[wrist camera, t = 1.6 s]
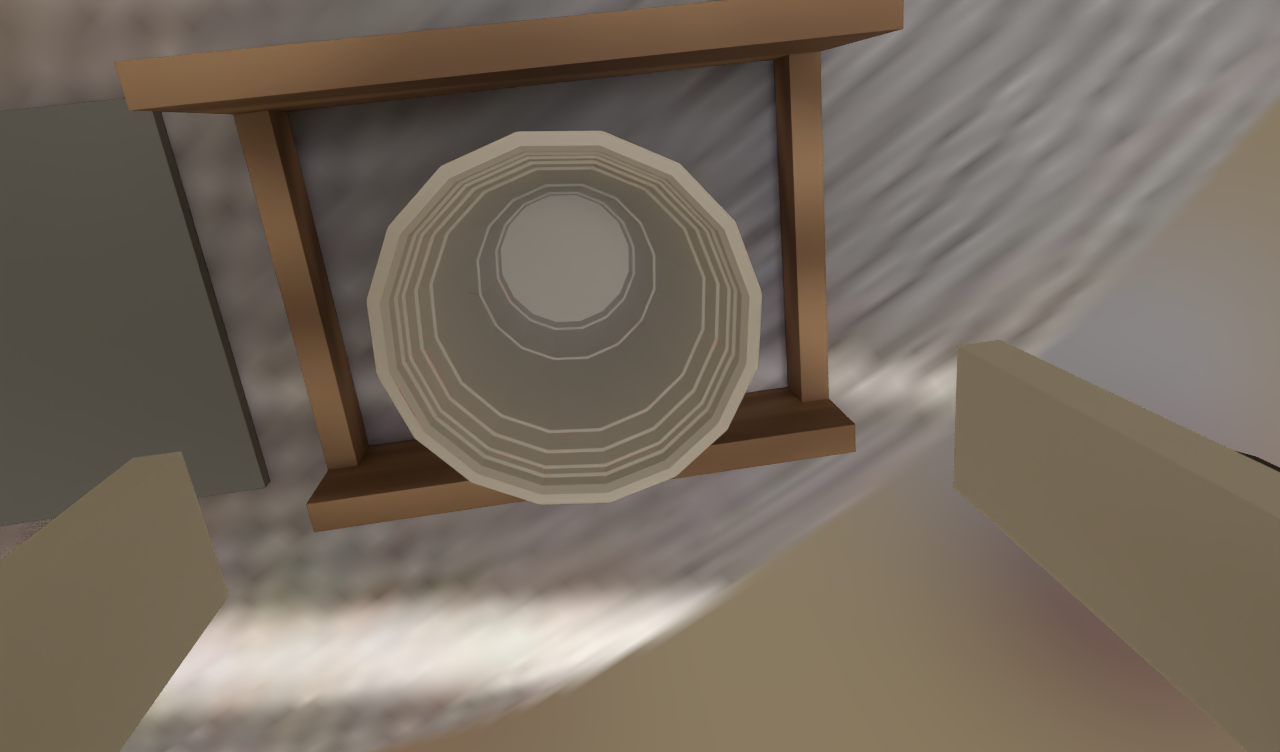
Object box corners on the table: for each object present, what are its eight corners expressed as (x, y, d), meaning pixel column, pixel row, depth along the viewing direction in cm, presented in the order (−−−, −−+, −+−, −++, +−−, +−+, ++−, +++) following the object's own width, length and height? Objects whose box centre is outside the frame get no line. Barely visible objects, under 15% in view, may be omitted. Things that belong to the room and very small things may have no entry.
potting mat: (-311, 145, 27) (-330, 145, 26) (155, 96, 28) (147, 95, 27) (-116, 536, 32) (-128, 544, 31) (270, 481, 33) (265, 487, 32)
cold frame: (245, 81, 28) (114, 62, 20) (802, 23, 30) (903, -18, 21) (347, 474, 33) (278, 593, 25) (814, 407, 35) (899, 498, 26)
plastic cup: (372, 230, 30) (267, 293, 19) (591, 69, 29) (617, 33, 18) (535, 430, 34) (529, 582, 22) (735, 291, 33) (833, 379, 22)
